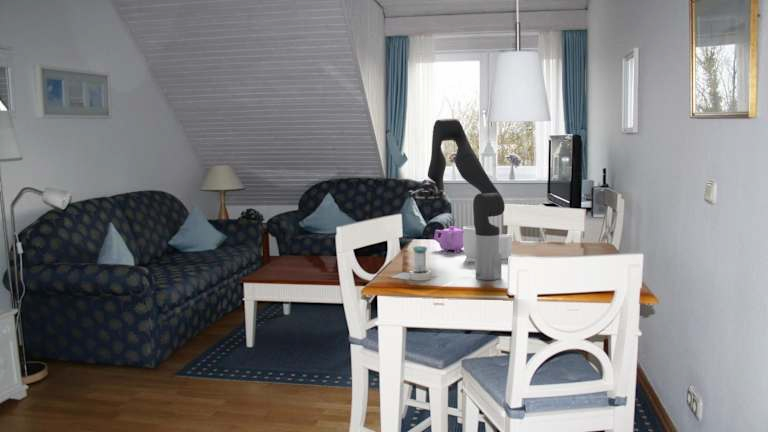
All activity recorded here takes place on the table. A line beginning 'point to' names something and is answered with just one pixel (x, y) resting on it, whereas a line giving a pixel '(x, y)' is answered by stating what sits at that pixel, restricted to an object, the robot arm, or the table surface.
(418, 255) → the teal capped bottle
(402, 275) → the dock
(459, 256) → the table surface
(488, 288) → the table surface
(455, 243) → the pot
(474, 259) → the jar
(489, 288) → the table surface
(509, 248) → the white cup
